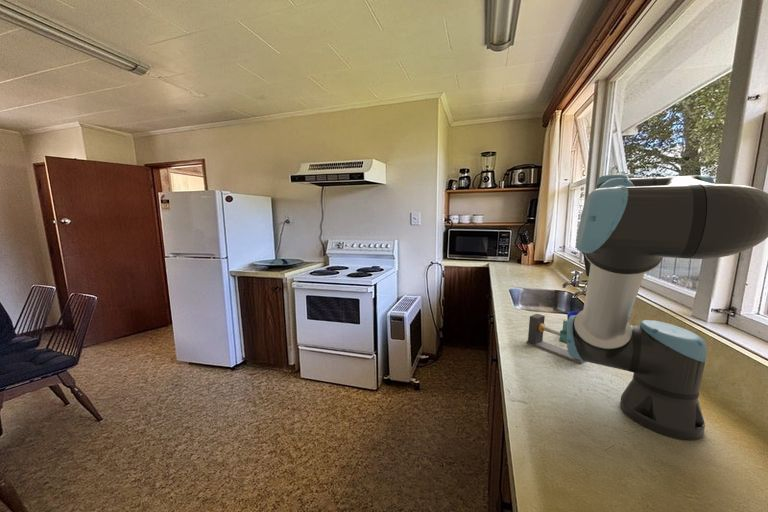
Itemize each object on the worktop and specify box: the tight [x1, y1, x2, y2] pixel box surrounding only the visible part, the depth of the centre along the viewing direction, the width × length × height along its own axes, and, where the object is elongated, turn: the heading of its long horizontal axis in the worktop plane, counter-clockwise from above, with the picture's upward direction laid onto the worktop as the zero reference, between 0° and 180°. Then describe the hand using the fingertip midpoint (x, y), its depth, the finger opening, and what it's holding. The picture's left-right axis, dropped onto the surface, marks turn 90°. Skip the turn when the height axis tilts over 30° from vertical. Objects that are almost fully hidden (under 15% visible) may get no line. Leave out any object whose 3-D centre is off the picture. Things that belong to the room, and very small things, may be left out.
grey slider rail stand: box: [525, 313, 585, 365], centre depth 106 cm, size 19×5×11 cm, turn 34°
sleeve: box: [558, 319, 568, 345], centre depth 102 cm, size 4×4×8 cm
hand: (598, 299), depth 94 cm, fingers closed
